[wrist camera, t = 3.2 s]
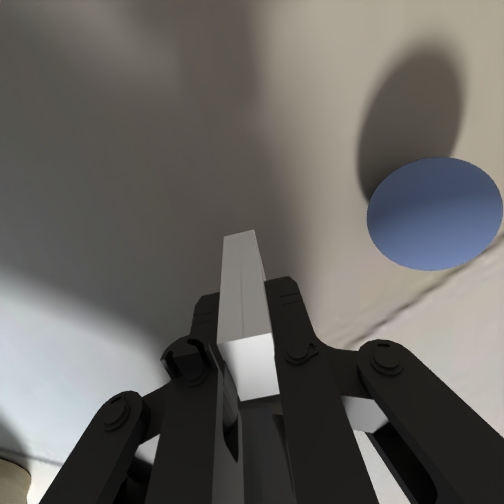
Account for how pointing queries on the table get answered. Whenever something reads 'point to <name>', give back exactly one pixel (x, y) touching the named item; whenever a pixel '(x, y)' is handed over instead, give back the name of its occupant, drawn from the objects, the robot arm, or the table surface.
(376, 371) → the robot arm
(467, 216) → the blue ball
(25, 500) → the planter bowl
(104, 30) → the table surface
